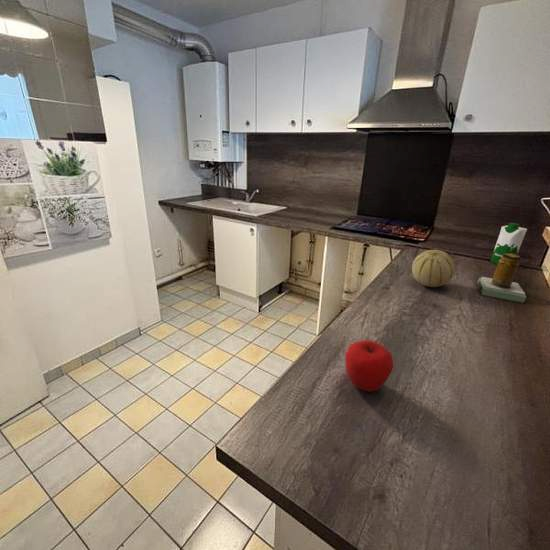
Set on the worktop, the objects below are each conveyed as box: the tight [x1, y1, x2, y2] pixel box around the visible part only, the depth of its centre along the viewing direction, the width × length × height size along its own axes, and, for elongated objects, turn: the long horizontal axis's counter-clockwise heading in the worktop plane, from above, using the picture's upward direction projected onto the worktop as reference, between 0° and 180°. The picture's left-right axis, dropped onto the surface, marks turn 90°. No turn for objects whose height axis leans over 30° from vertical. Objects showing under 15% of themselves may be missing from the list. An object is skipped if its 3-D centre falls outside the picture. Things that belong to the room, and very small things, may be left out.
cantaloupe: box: [411, 249, 456, 288], centre depth 114 cm, size 15×15×15 cm
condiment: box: [486, 253, 521, 290], centre depth 109 cm, size 7×8×12 cm
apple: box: [344, 339, 394, 393], centre depth 63 cm, size 10×10×11 cm
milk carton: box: [490, 222, 528, 265], centre depth 141 cm, size 9×9×20 cm
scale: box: [477, 276, 527, 304], centre depth 112 cm, size 13×12×3 cm
